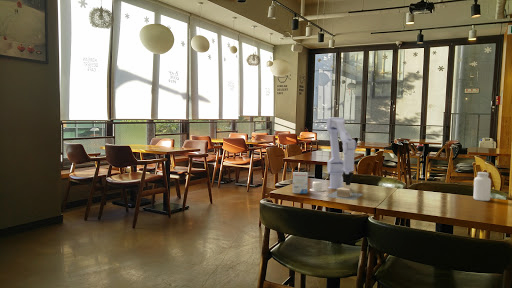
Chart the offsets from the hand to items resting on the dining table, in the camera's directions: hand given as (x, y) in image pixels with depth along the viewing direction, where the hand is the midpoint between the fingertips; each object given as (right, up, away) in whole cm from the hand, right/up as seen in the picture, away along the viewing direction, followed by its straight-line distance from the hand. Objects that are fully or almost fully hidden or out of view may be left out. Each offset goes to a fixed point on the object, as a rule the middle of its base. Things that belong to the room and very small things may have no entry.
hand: (348, 185), depth 220 cm
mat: (-3, -6, -5) cm, 8 cm away
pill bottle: (+71, -7, -8) cm, 72 cm away
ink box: (-27, -5, +3) cm, 28 cm away
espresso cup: (-16, -4, +11) cm, 20 cm away
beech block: (-2, -3, -3) cm, 5 cm away
